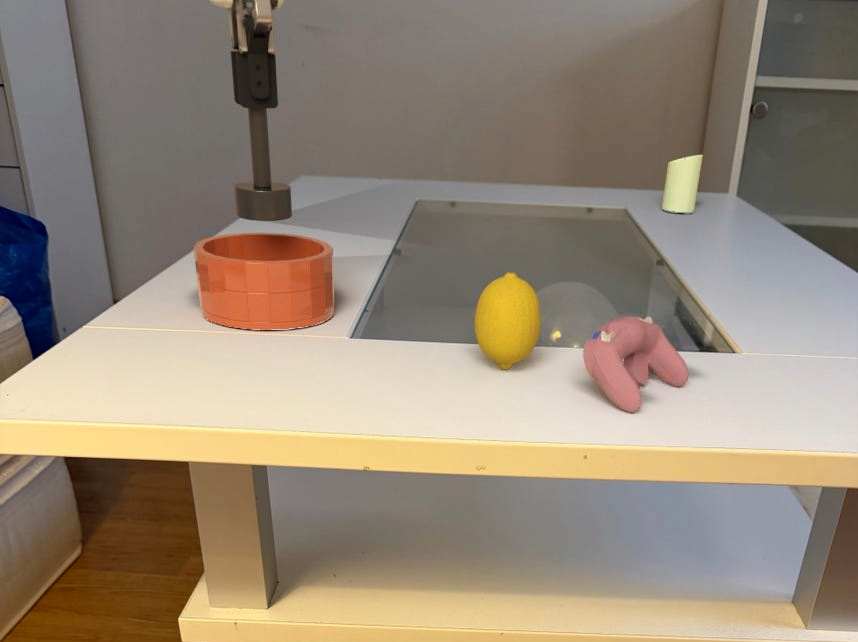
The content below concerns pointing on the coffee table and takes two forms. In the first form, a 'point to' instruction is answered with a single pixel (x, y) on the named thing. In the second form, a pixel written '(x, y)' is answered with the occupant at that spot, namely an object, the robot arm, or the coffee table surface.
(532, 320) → the lemon
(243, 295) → the bowl
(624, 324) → the video game controller
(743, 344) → the coffee table surface
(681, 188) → the candle
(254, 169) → the ring toss peg
